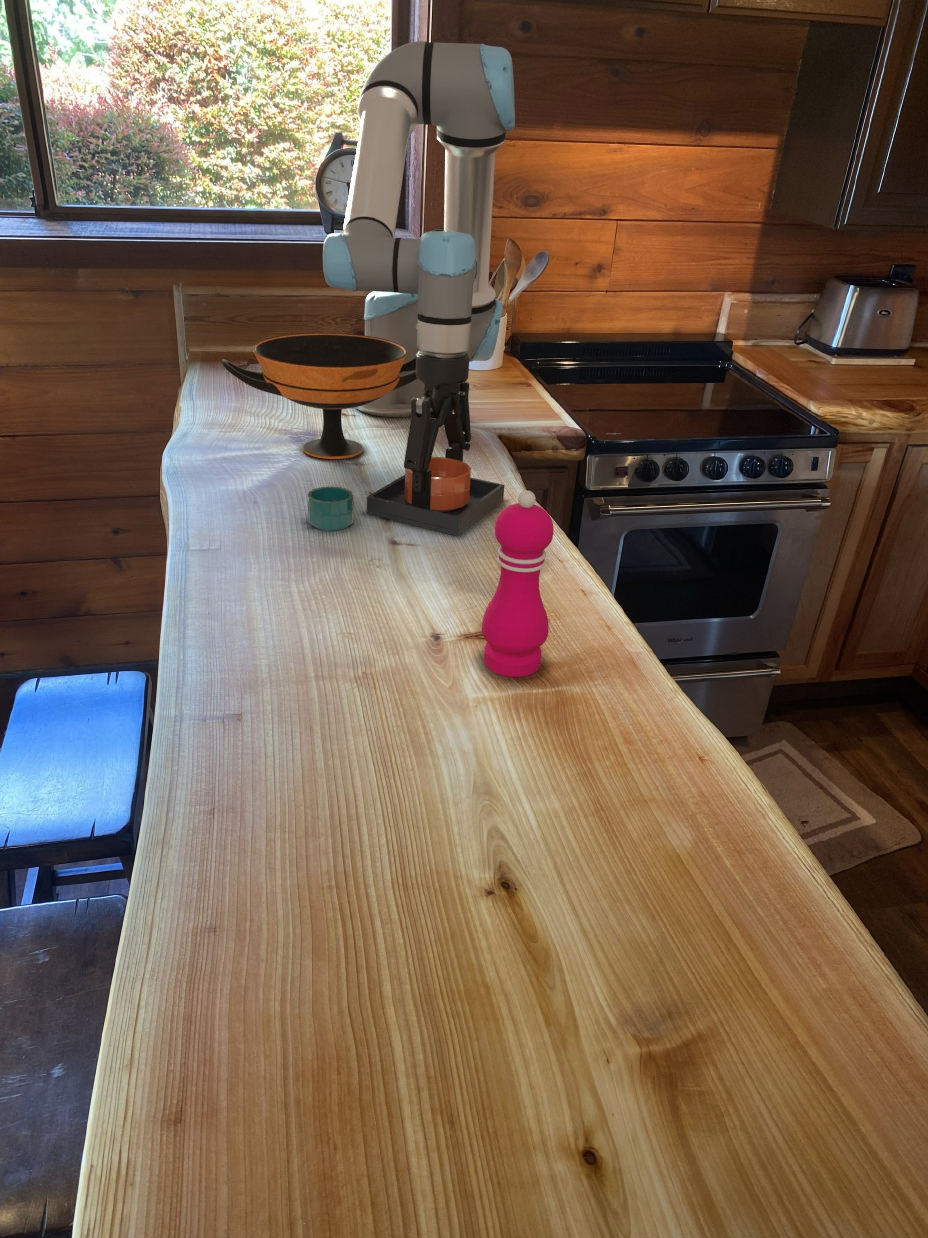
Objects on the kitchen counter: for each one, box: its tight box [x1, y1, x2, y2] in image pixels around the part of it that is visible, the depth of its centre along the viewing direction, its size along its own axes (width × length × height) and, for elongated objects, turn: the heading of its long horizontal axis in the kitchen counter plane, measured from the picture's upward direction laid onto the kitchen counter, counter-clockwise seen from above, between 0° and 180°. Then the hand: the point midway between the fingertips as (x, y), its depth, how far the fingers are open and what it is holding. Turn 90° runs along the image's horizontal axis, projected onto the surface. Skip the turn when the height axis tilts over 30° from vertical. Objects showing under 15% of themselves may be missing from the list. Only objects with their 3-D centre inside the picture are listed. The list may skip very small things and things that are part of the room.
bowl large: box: [404, 456, 472, 512], centre depth 136 cm, size 10×10×6 cm
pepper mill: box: [480, 490, 555, 678], centre depth 94 cm, size 7×7×20 cm
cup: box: [220, 332, 417, 460], centre depth 155 cm, size 36×26×18 cm
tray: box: [366, 474, 505, 537], centre depth 137 cm, size 16×15×3 cm
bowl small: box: [306, 486, 355, 532], centre depth 129 cm, size 6×6×4 cm
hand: (437, 500), depth 137 cm, fingers closed on bowl large, 10 cm apart
